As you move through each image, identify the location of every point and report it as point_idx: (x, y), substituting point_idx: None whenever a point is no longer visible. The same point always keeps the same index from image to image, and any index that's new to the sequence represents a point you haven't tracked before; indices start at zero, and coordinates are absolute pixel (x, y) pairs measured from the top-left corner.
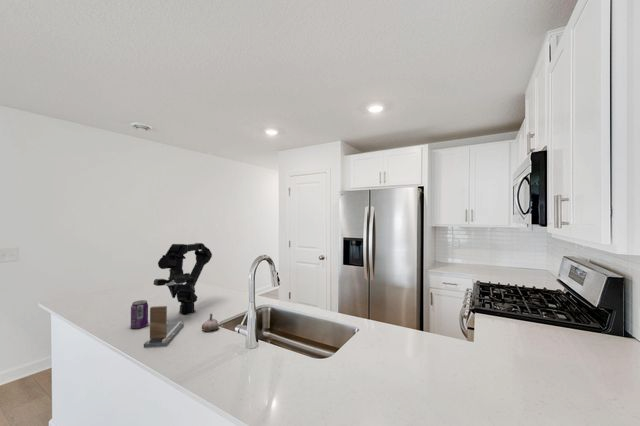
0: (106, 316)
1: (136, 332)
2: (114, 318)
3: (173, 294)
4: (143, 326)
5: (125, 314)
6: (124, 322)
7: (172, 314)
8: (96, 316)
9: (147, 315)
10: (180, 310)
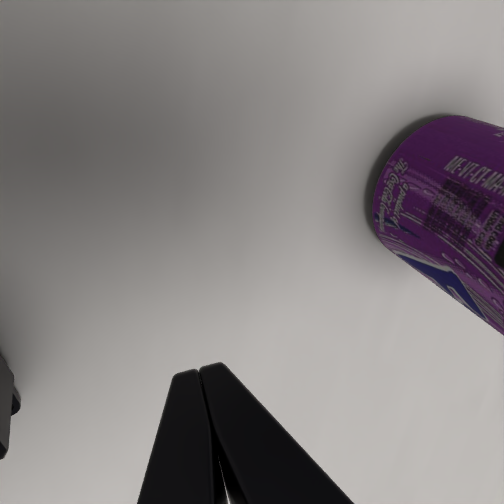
0: (474, 472)
1: (494, 27)
2: (463, 430)
3: (263, 442)
4: (425, 127)
5: (400, 479)
6: (456, 337)
7: (101, 374)
8: (500, 483)
9: (459, 196)
10: (3, 384)
